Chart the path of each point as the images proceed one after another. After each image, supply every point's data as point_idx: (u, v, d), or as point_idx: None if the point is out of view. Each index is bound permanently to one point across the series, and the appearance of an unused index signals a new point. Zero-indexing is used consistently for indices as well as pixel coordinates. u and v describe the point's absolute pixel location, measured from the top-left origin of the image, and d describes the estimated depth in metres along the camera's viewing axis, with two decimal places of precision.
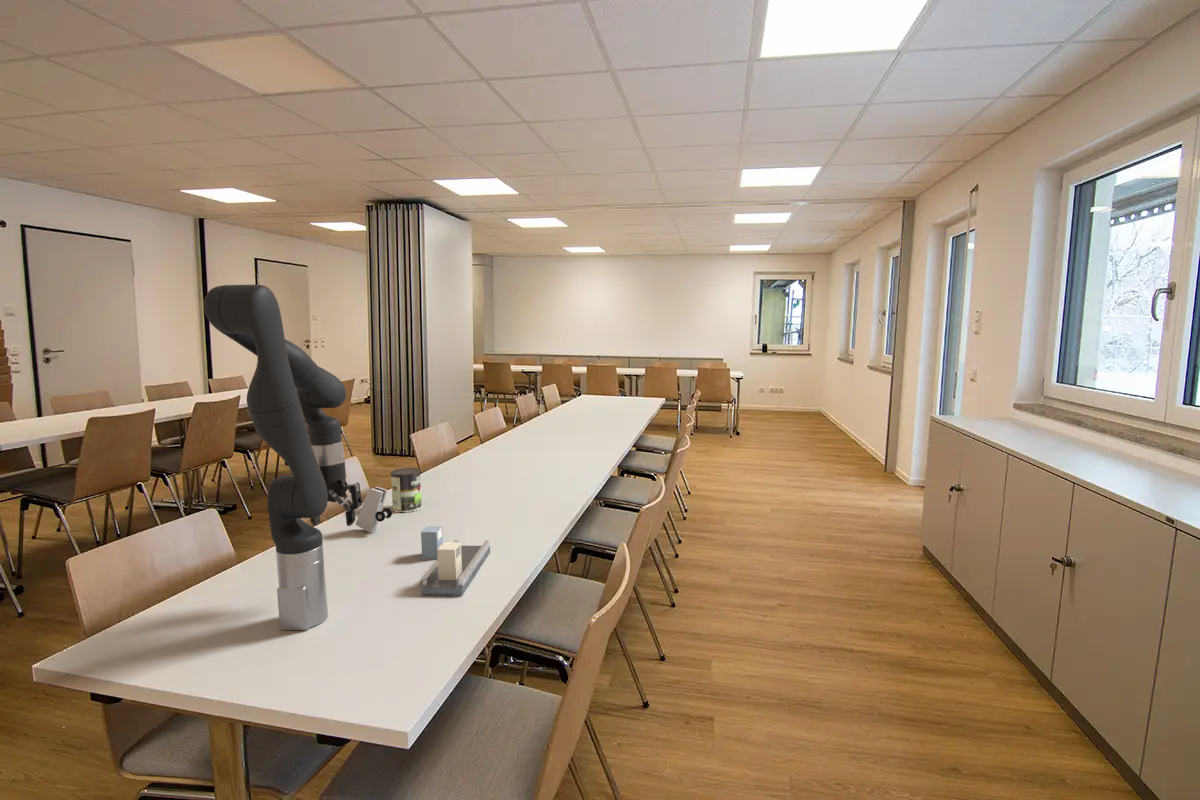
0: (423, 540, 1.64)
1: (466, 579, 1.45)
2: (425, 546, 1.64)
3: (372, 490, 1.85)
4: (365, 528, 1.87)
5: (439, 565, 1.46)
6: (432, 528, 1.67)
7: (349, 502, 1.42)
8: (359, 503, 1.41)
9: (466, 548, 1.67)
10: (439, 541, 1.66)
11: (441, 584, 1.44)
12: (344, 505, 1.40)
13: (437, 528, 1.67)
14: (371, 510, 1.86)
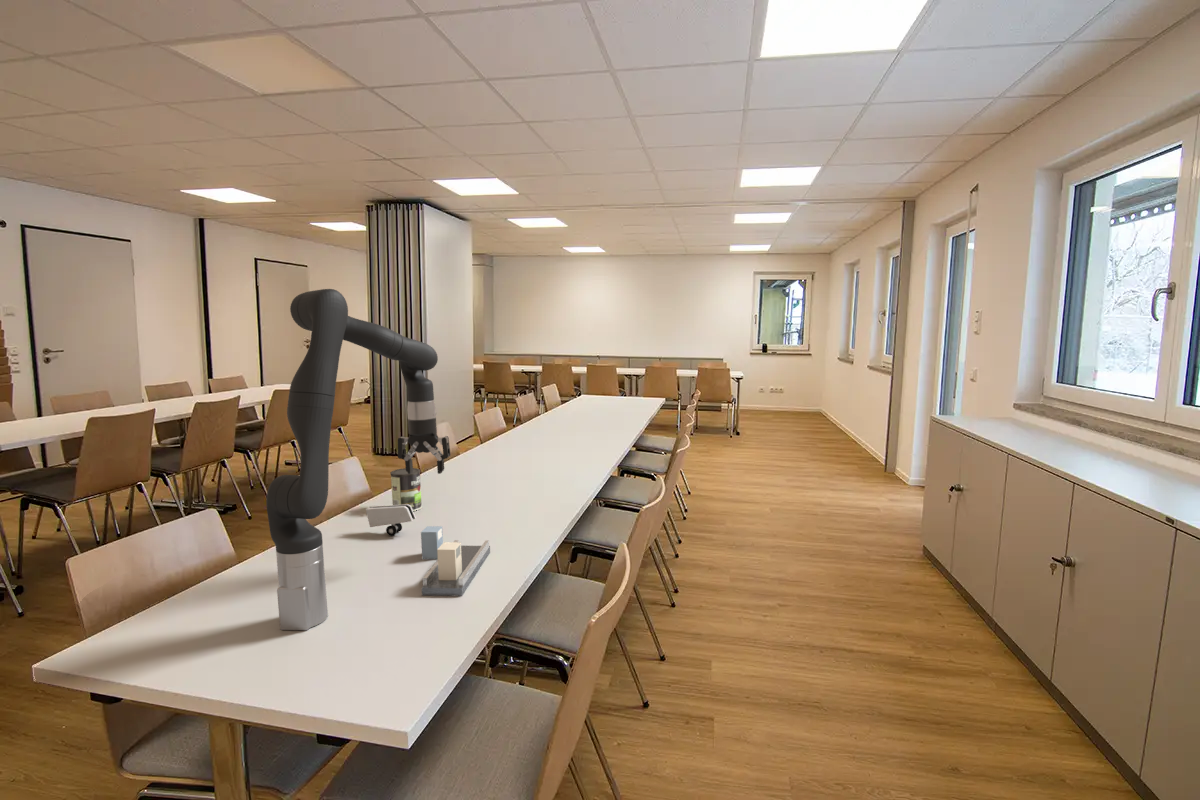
0: (423, 540, 1.64)
1: (466, 579, 1.45)
2: (425, 546, 1.64)
3: (406, 511, 1.82)
4: (370, 521, 1.85)
5: (439, 565, 1.46)
6: (432, 528, 1.67)
7: (439, 453, 1.63)
8: (448, 454, 1.63)
9: (466, 548, 1.67)
10: (439, 541, 1.66)
11: (441, 584, 1.44)
12: (436, 455, 1.62)
13: (437, 528, 1.67)
14: (389, 518, 1.84)
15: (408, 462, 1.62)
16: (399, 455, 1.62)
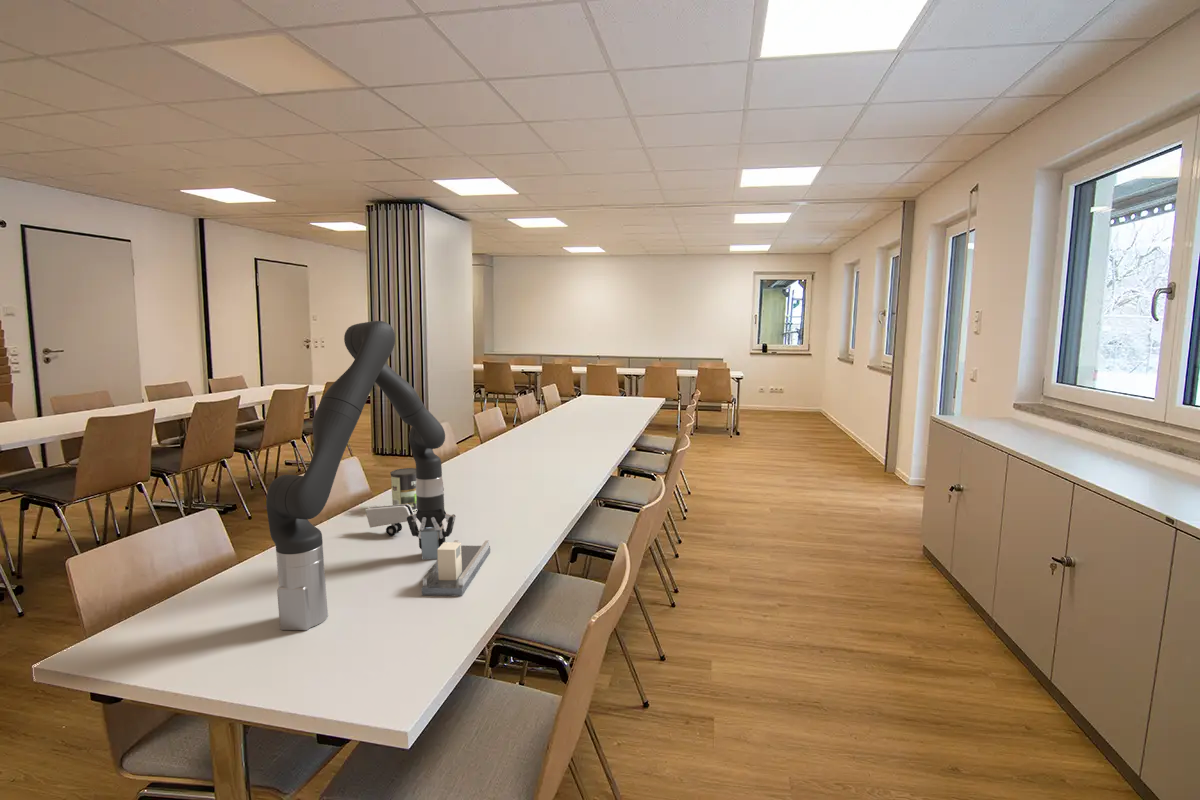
0: (423, 540, 1.64)
1: (466, 579, 1.45)
2: (425, 546, 1.64)
3: (406, 510, 1.82)
4: (370, 521, 1.85)
5: (439, 565, 1.46)
6: (432, 528, 1.67)
7: (442, 530, 1.67)
8: (449, 531, 1.66)
9: (466, 548, 1.67)
10: None
11: (441, 584, 1.44)
12: (439, 532, 1.65)
13: None
14: (389, 518, 1.84)
15: None
16: (413, 533, 1.65)
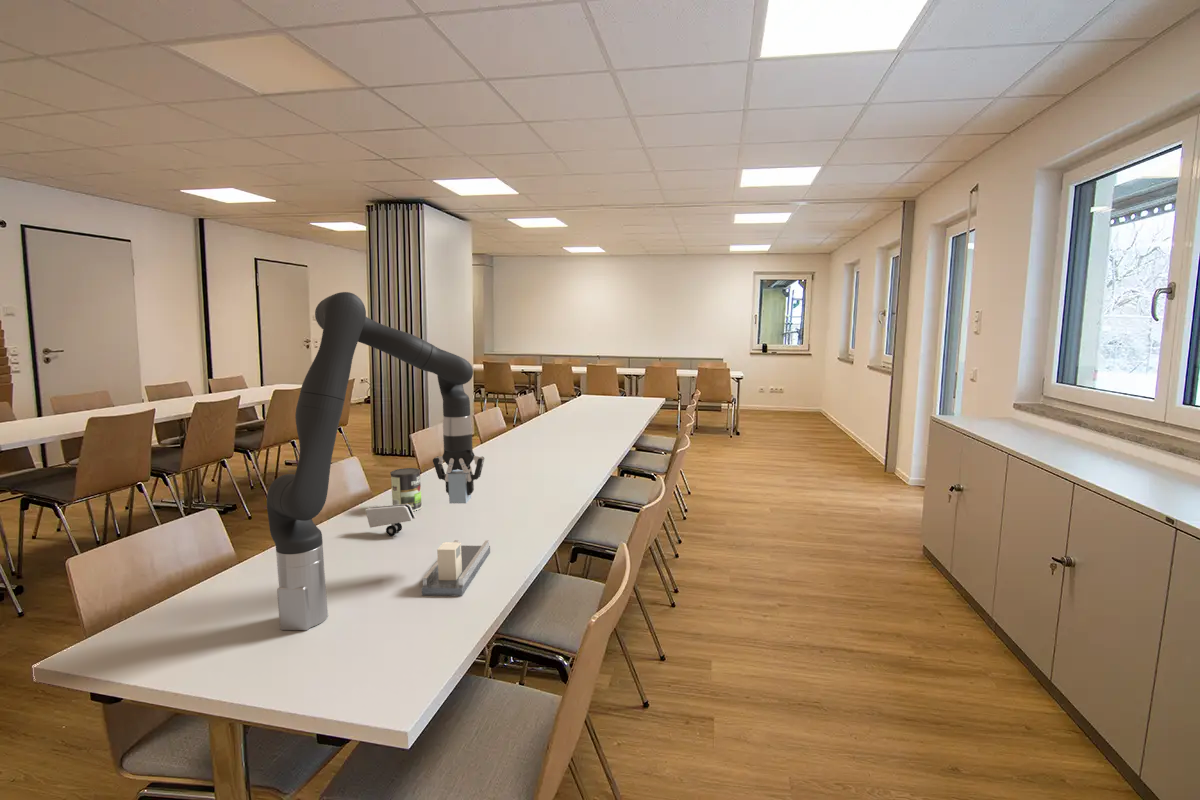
0: (450, 483, 1.54)
1: (466, 579, 1.45)
2: (452, 489, 1.55)
3: (406, 510, 1.82)
4: (370, 521, 1.85)
5: (439, 565, 1.46)
6: (459, 471, 1.57)
7: (470, 473, 1.57)
8: (478, 474, 1.56)
9: (466, 548, 1.67)
10: None
11: (441, 584, 1.44)
12: (467, 475, 1.55)
13: None
14: (389, 518, 1.84)
15: None
16: (439, 475, 1.56)
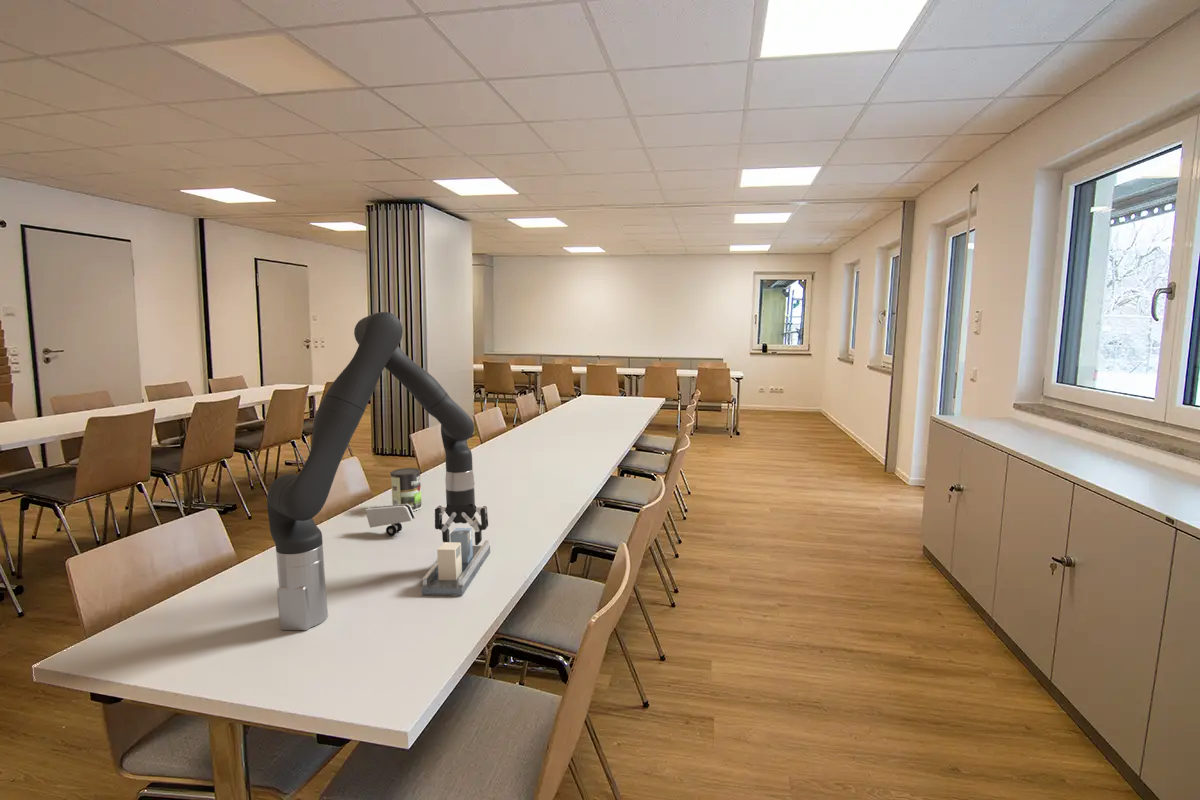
0: None
1: (466, 579, 1.45)
2: None
3: (406, 510, 1.82)
4: (370, 521, 1.85)
5: (439, 565, 1.46)
6: (461, 530, 1.59)
7: (477, 523, 1.59)
8: (486, 524, 1.58)
9: None
10: (469, 543, 1.58)
11: (441, 584, 1.44)
12: (474, 526, 1.57)
13: (467, 530, 1.59)
14: (389, 518, 1.84)
15: (445, 533, 1.58)
16: (436, 526, 1.57)
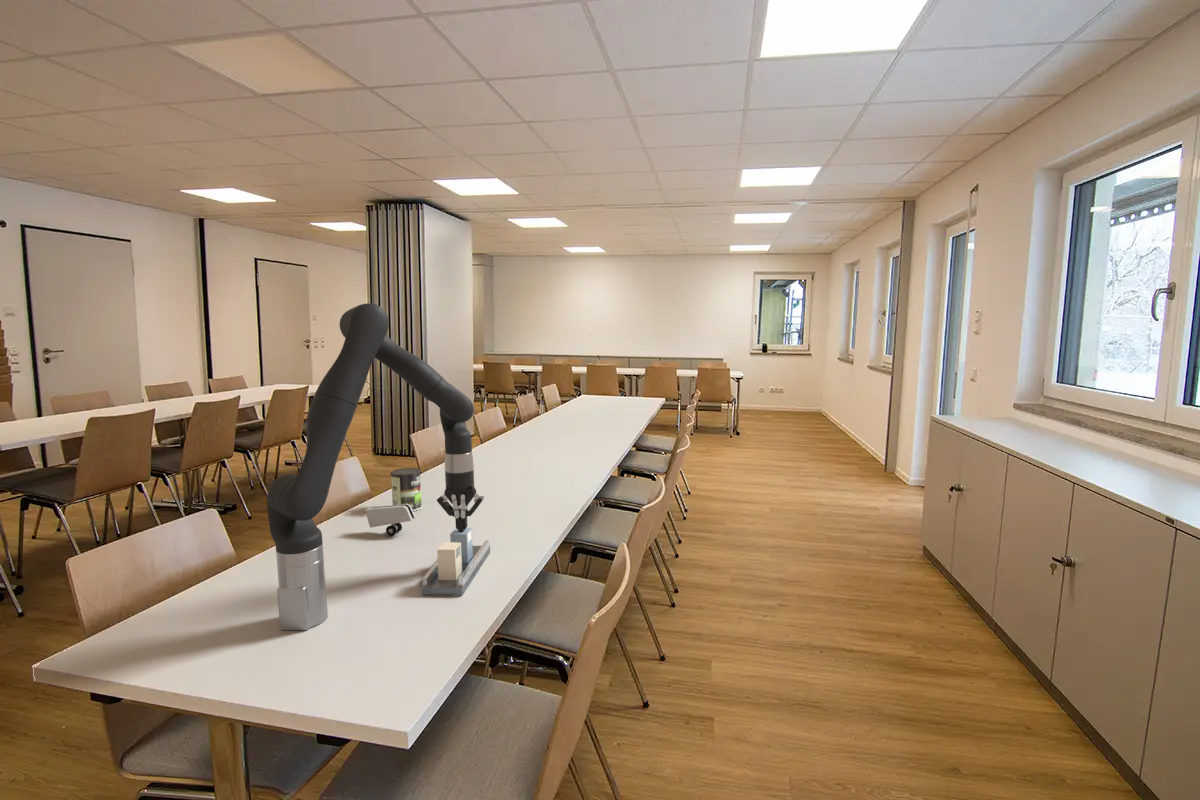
0: None
1: (466, 579, 1.45)
2: None
3: (406, 510, 1.82)
4: (370, 521, 1.85)
5: (439, 565, 1.46)
6: None
7: (465, 509, 1.58)
8: None
9: None
10: (469, 543, 1.58)
11: (441, 584, 1.44)
12: (462, 511, 1.56)
13: (467, 530, 1.59)
14: (389, 518, 1.84)
15: (459, 519, 1.57)
16: (449, 512, 1.57)
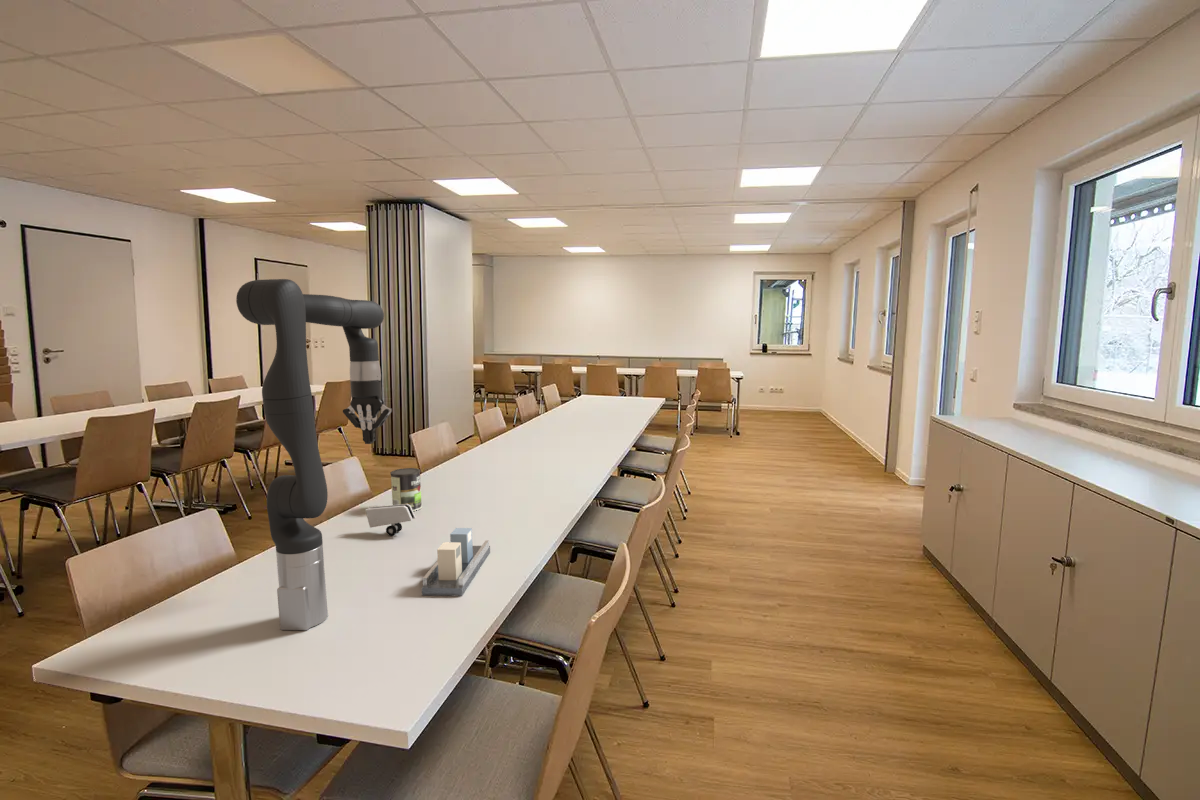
0: None
1: (466, 579, 1.45)
2: None
3: (406, 510, 1.82)
4: (370, 521, 1.85)
5: (439, 565, 1.46)
6: (461, 530, 1.59)
7: (373, 422, 1.54)
8: None
9: None
10: (469, 543, 1.58)
11: (441, 584, 1.44)
12: (369, 423, 1.52)
13: (467, 530, 1.59)
14: (389, 518, 1.84)
15: (365, 431, 1.52)
16: (356, 424, 1.52)
